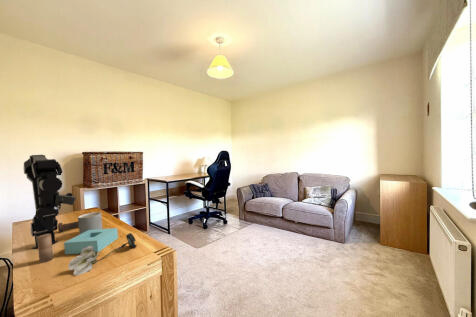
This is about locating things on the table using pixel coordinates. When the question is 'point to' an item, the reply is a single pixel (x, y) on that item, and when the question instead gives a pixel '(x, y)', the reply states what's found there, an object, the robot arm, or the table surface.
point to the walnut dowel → (45, 248)
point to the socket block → (91, 240)
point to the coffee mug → (89, 222)
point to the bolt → (67, 226)
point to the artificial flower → (92, 257)
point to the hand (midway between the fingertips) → (51, 228)
